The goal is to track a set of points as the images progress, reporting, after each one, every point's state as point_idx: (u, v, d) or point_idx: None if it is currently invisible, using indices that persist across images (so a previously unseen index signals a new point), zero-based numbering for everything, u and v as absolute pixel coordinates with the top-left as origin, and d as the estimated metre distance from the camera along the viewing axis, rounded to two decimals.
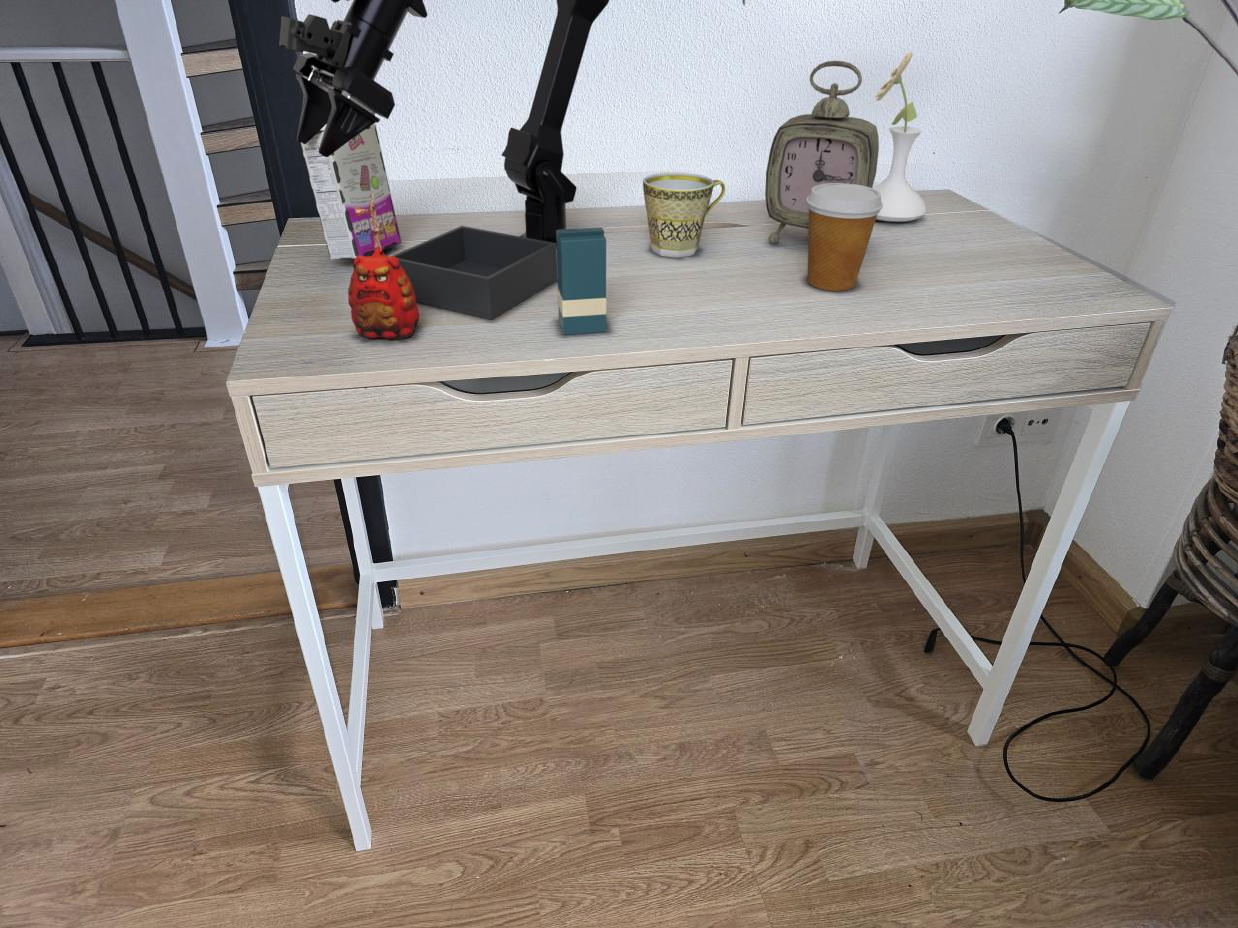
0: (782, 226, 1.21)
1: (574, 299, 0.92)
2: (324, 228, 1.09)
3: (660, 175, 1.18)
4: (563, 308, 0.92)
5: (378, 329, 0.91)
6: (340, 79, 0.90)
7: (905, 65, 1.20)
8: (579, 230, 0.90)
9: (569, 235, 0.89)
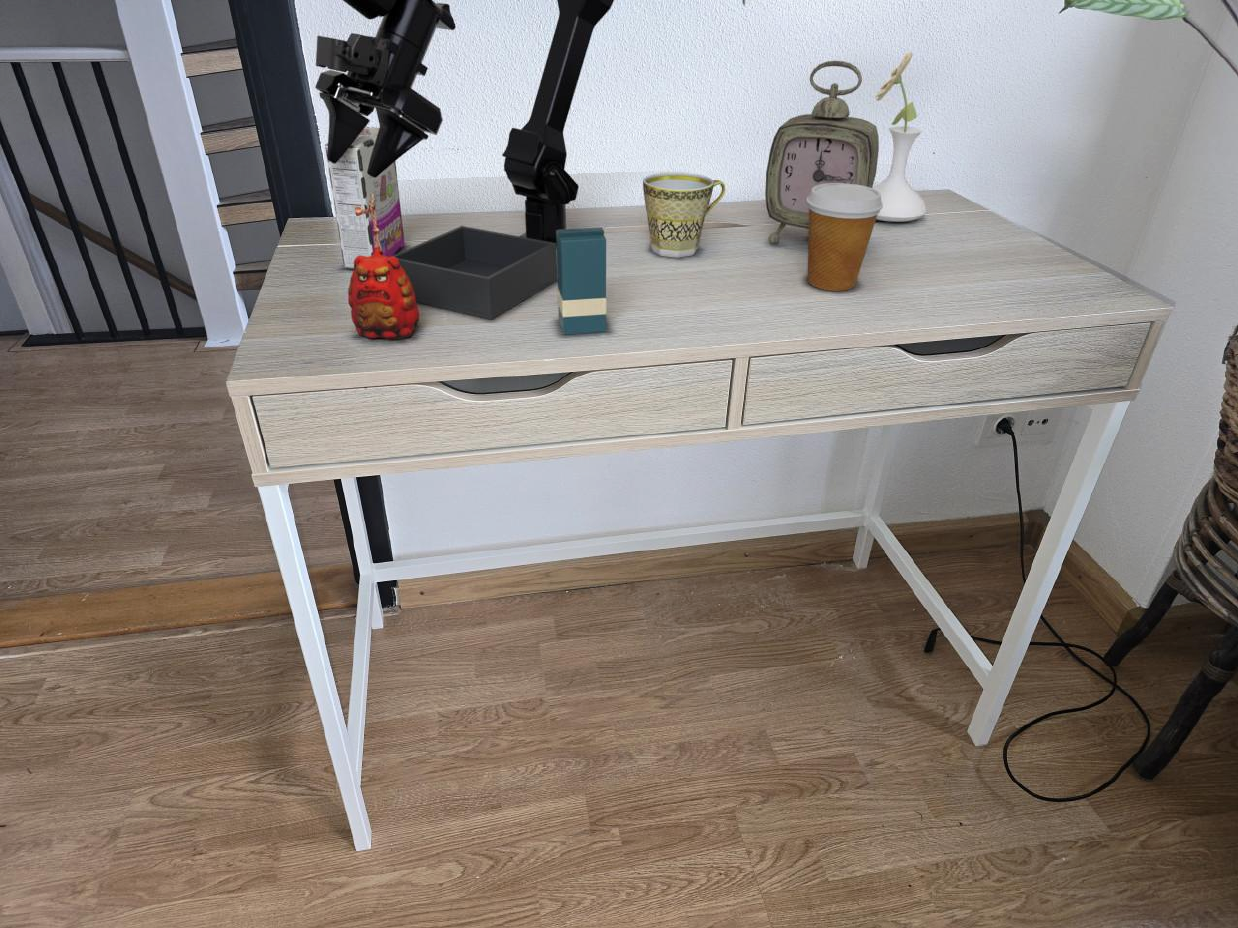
0: (782, 226, 1.21)
1: (574, 299, 0.92)
2: (341, 237, 1.09)
3: (660, 175, 1.18)
4: (563, 308, 0.92)
5: (378, 329, 0.91)
6: (392, 98, 0.89)
7: (905, 65, 1.20)
8: (579, 230, 0.90)
9: (569, 235, 0.89)
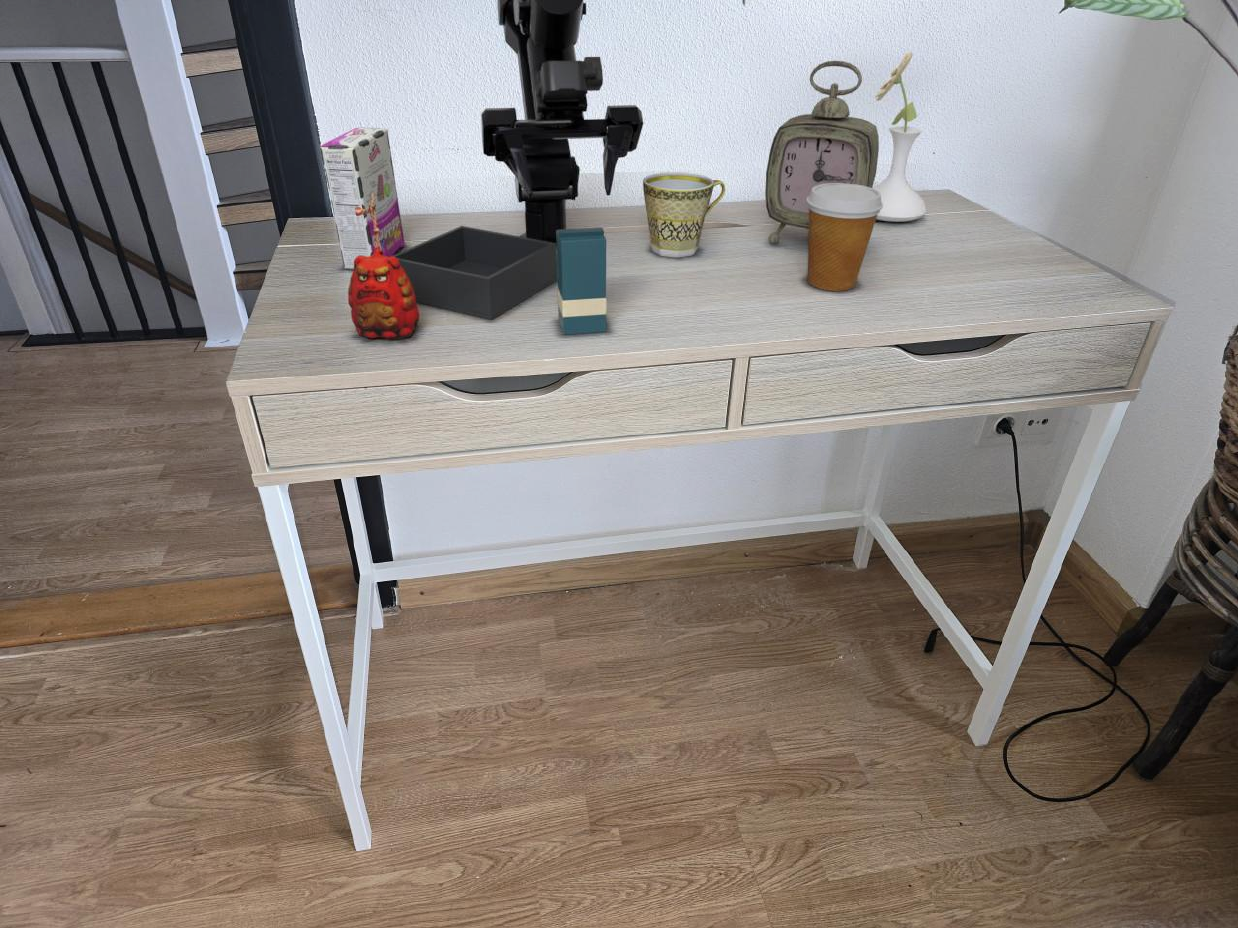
0: (782, 226, 1.21)
1: (574, 299, 0.92)
2: (340, 238, 1.09)
3: (660, 175, 1.18)
4: (563, 308, 0.92)
5: (378, 329, 0.91)
6: (629, 114, 0.95)
7: (905, 65, 1.20)
8: (579, 230, 0.90)
9: (569, 235, 0.89)
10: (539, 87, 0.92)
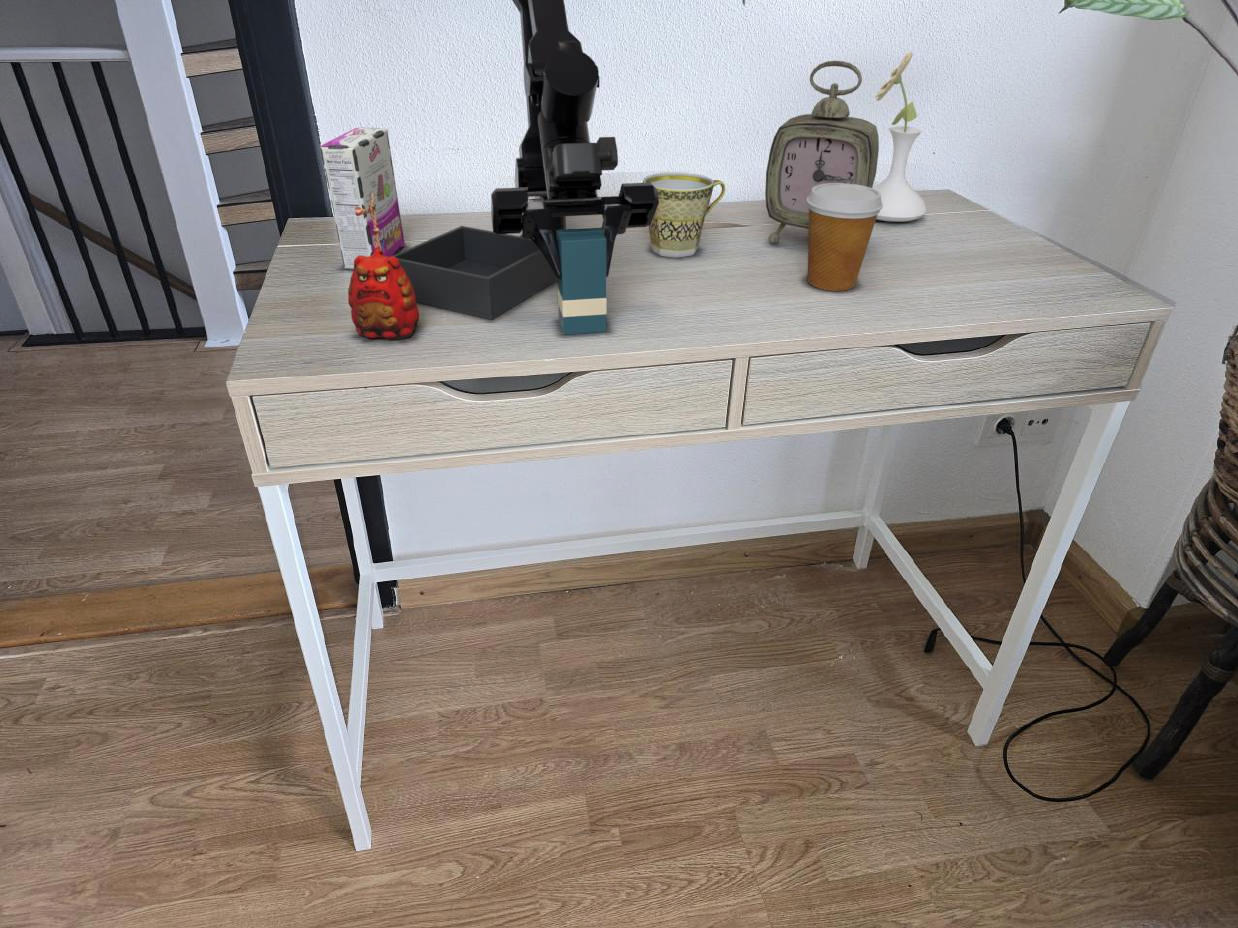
0: (782, 226, 1.21)
1: (574, 299, 0.92)
2: (340, 238, 1.09)
3: (660, 175, 1.18)
4: (563, 308, 0.92)
5: (378, 329, 0.91)
6: (644, 193, 0.91)
7: (905, 65, 1.20)
8: (579, 230, 0.90)
9: (569, 235, 0.89)
10: (551, 167, 0.89)
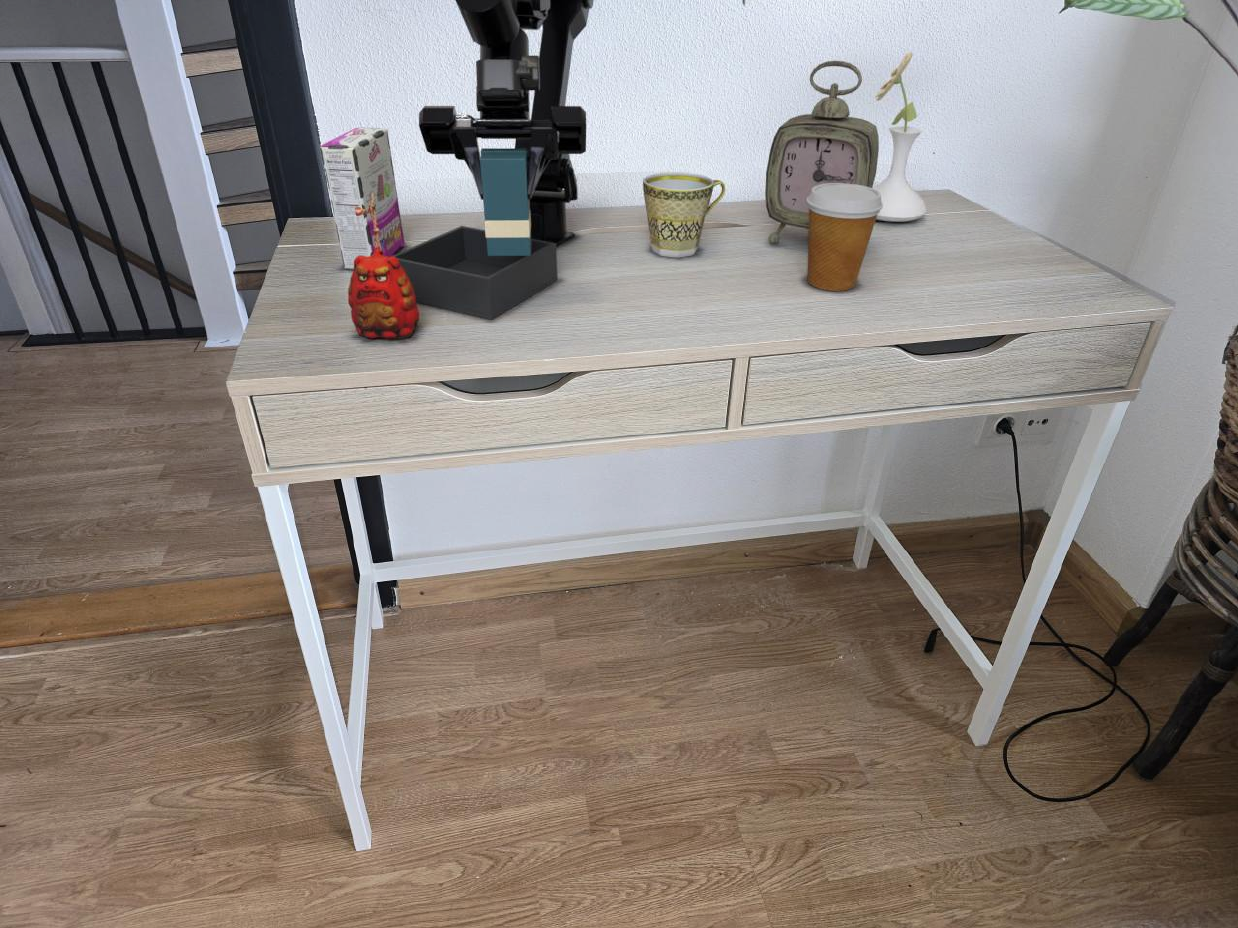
0: (782, 226, 1.21)
1: (496, 220, 0.93)
2: (340, 238, 1.09)
3: (660, 175, 1.18)
4: (485, 228, 0.93)
5: (378, 329, 0.91)
6: (571, 116, 0.91)
7: (905, 65, 1.20)
8: (501, 150, 0.90)
9: (491, 154, 0.90)
10: None
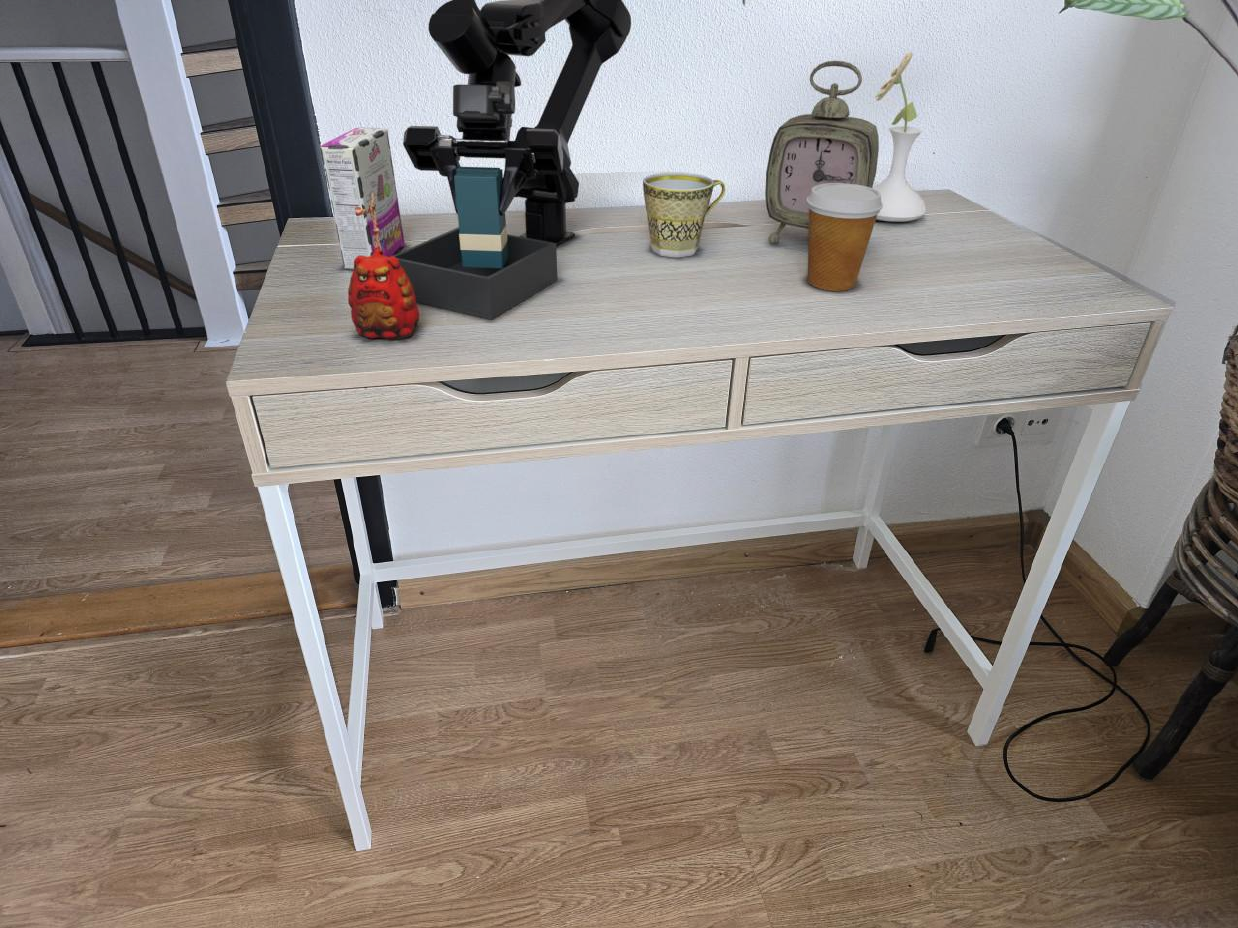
0: (782, 226, 1.21)
1: (470, 233, 0.99)
2: (340, 238, 1.09)
3: (660, 175, 1.18)
4: (460, 241, 0.99)
5: (378, 329, 0.91)
6: (544, 138, 0.96)
7: (905, 65, 1.20)
8: (476, 168, 0.96)
9: (465, 172, 0.96)
10: None
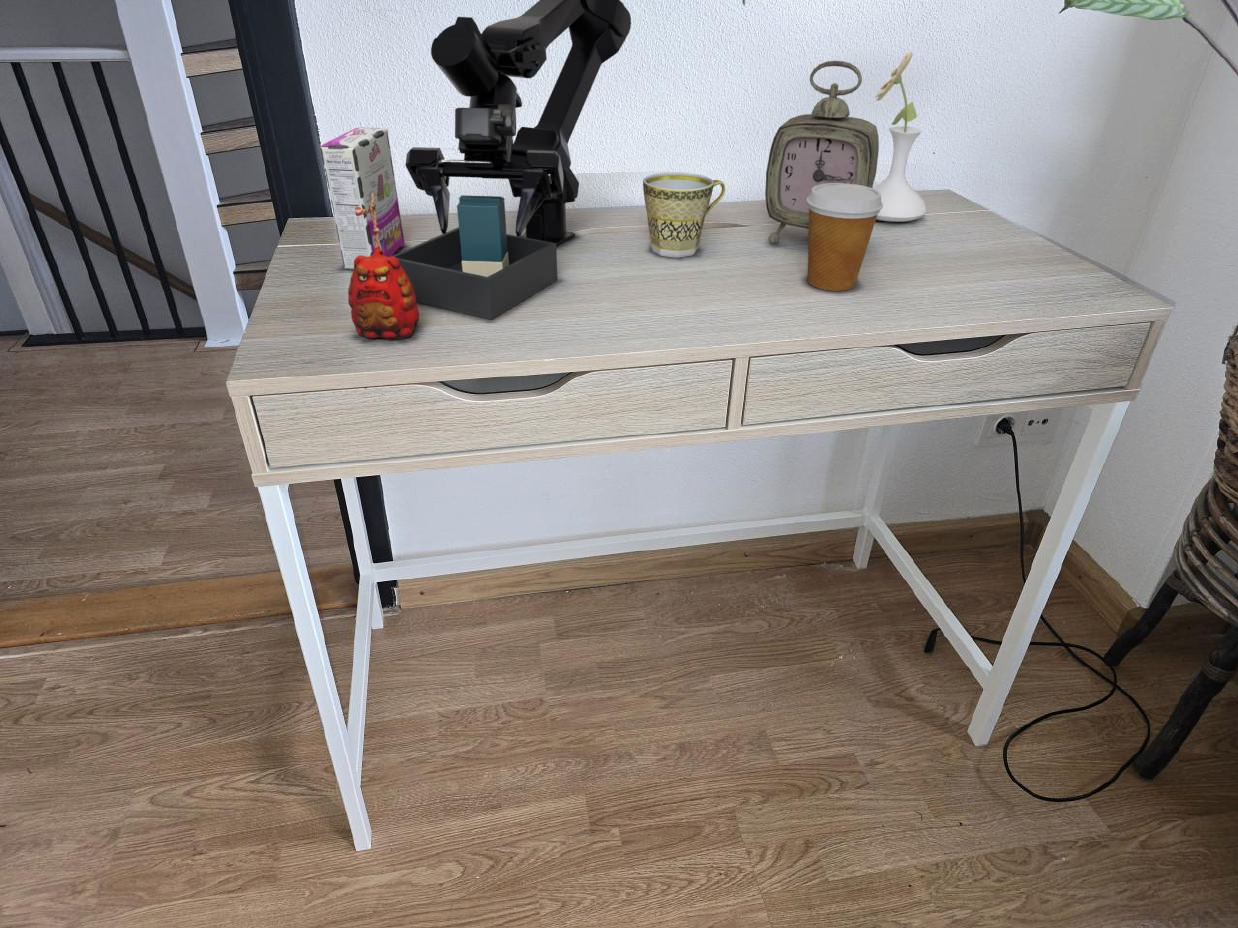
0: (782, 226, 1.21)
1: (472, 260, 1.00)
2: (340, 238, 1.09)
3: (660, 175, 1.18)
4: (463, 268, 1.01)
5: (378, 329, 0.91)
6: (544, 160, 0.97)
7: (905, 65, 1.20)
8: (478, 197, 0.98)
9: (468, 201, 0.98)
10: None
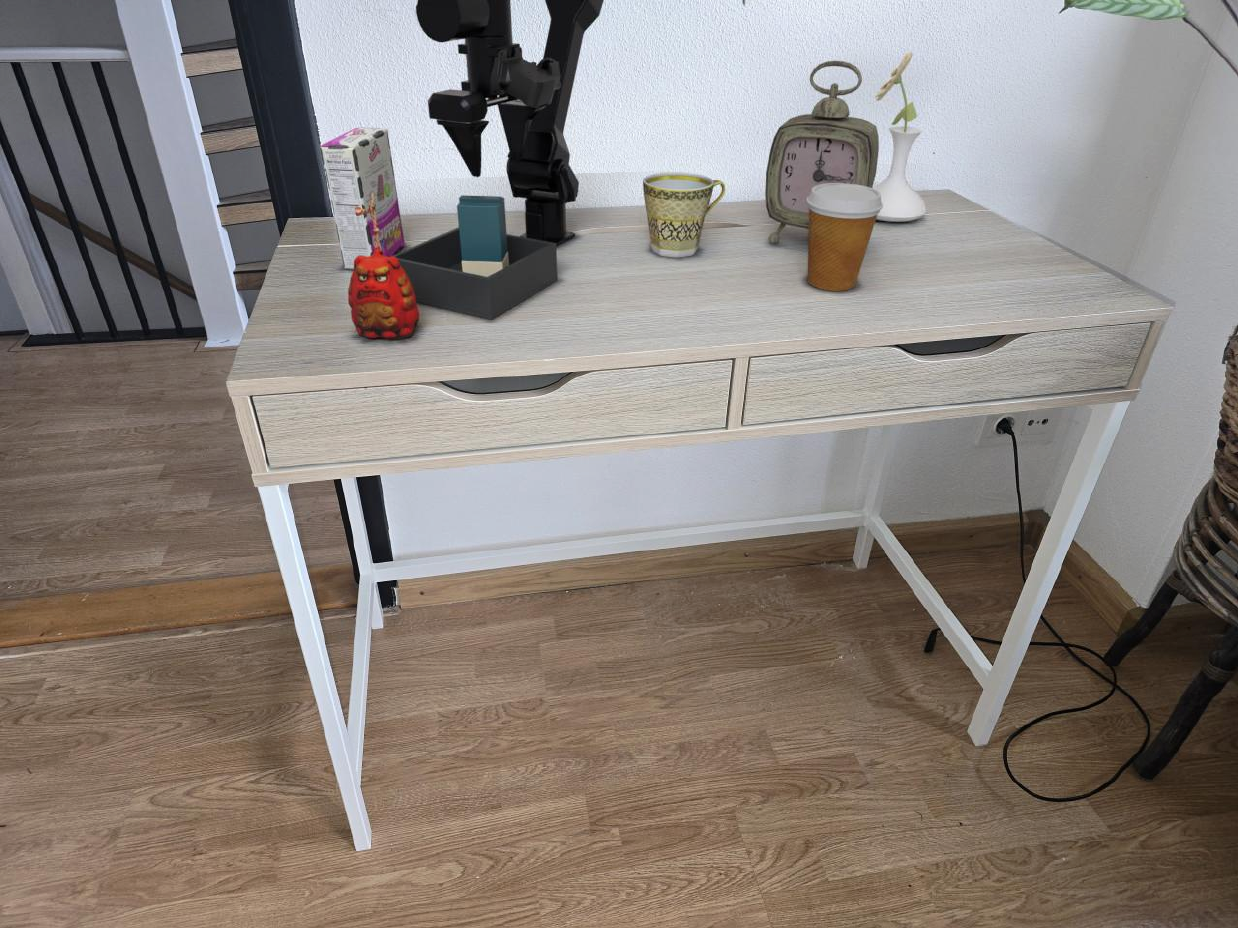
0: (782, 226, 1.21)
1: (472, 260, 1.00)
2: (340, 238, 1.09)
3: (660, 175, 1.18)
4: (463, 268, 1.01)
5: (378, 329, 0.91)
6: None
7: (905, 65, 1.20)
8: (478, 197, 0.98)
9: (468, 201, 0.98)
10: (508, 81, 0.97)
